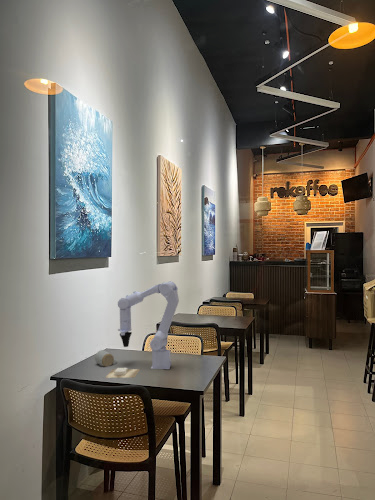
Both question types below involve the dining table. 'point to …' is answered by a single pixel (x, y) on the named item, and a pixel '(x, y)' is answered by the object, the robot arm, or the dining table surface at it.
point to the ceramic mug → (104, 358)
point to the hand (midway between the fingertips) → (126, 346)
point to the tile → (120, 371)
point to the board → (130, 374)
